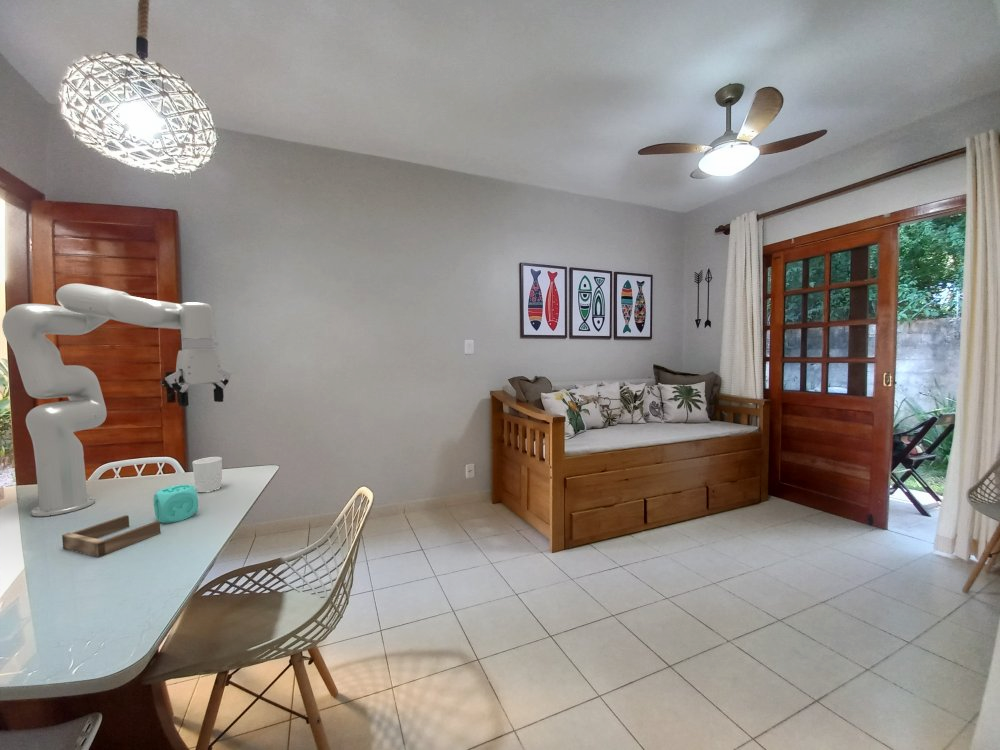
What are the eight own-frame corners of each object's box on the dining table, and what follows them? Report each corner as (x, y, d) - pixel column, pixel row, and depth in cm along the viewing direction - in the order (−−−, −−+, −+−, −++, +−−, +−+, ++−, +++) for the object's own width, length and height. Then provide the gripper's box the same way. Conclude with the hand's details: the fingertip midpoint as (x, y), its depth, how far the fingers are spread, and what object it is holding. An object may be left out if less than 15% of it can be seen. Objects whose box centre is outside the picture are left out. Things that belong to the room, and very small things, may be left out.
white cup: (207, 494, 126) (206, 463, 125) (187, 492, 128) (185, 462, 127) (229, 486, 134) (227, 457, 133) (210, 484, 135) (208, 456, 135)
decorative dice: (154, 518, 108) (152, 490, 108) (190, 509, 114) (188, 482, 114) (162, 526, 103) (160, 496, 103) (199, 515, 110) (197, 487, 109)
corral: (63, 548, 92) (61, 534, 92) (126, 526, 103) (125, 514, 103) (98, 557, 88) (97, 542, 87) (160, 532, 99) (159, 520, 99)
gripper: (219, 345, 123) (223, 399, 124) (155, 345, 107) (159, 407, 108) (236, 345, 121) (239, 400, 122) (172, 345, 105) (177, 408, 106)
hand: (201, 403), depth 115 cm, fingers open, 9 cm apart
